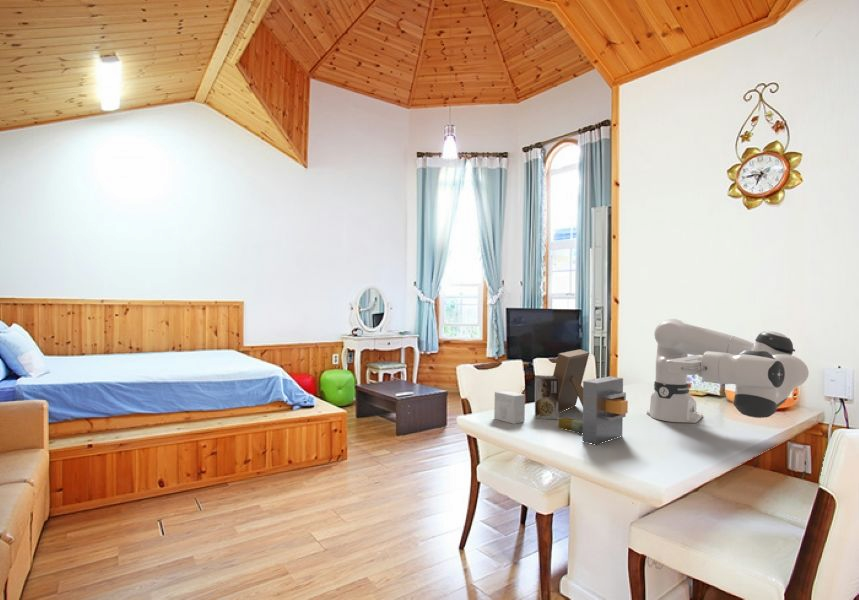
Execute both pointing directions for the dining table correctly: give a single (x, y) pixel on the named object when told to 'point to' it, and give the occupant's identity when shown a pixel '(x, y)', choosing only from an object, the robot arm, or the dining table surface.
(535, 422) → the dining table surface
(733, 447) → the dining table surface
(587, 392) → the panel
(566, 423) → the medication box
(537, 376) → the coffee box
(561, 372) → the photo frame
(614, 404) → the plunger
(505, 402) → the skincare box
